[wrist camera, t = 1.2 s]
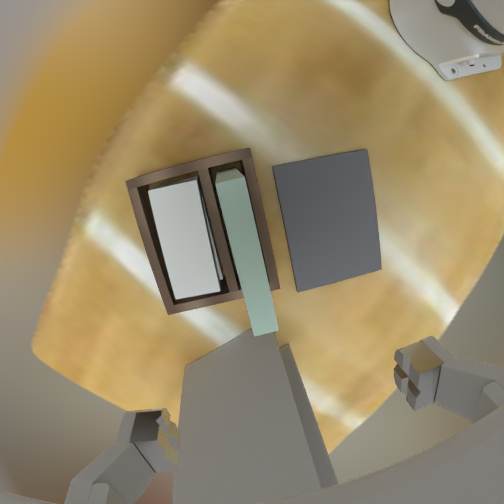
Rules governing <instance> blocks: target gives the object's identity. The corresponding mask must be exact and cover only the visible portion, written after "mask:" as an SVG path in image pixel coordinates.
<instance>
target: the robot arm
mask: <svg viewBox="0 0 504 504" xmlns="http://www.w3.org/2000/svg"><path fill="white" fill-rule="evenodd" d="M390 11H391V15H392V18H393V21H394V23H395V25H396V28H397V29H398V31H399V33H400V34H401V36H402V37H403V39H404V40H405V41H406V42H407V44H408V45H409V46H410V47H411V48H412V49H413V50H414V51H415V52H416V53H417V54H419V55H420V56H421V57H423V58H424V59H425V60H427V61H428V62H429V63H431V64H432V65H433V67H434V68H435V69H436V71H437V72H438V73H439V75H440V76H441V77H442V78H443V79H444V80H446V81H449V80H453V79H457V78H462V77H466V76H470V75H475V74H479V73H484V72H489V71H493V70H497V69H500V68H501V55H504V0H390ZM451 70H452V71H453V73H452V71H451ZM394 359H395V361H396V362H397V365H396V366H395V368H394V379H395V383H396V385H397V387H398V389H399V390H400V391H401V392H403V393H405V394H407V396H406V400H407V402H408V403H409V404H410V406H411V407H412V409H413V410H414V411H416V410H418V409H420V408H423V407H425V406H427V405H429V404H432V403H434V402H435V404H437V405H439V406H441V407H443V408H445V409H447V410H449V411H452V412H454V413H456V414H458V415H461V416H463V417H465V418H467V419H470V420H472V423H471V425H470V426H469V427H467V428H466V429H464V430H462V431H460V432H458V433H456V434H454V435H453V436H451V437H449V438H447V439H446V440H443V441H441V442H439V443H437V444H435V445H433V446H431V447H430V448H427V449H425V450H423V451H421V452H419V453H417V454H415V455H413V456H410V457H408V458H406V459H404V460H401V461H399V462H397V463H394V464H392V465H389V466H387V467H384V468H382V469H379V470H377V471H374V472H372V473H368V474H366V475H363V476H360V477H357V478H354V479H351V480H349V481H345V482H342V483H339V484H336V485H332V486H329V487H325V488H322V489H318V490H315V491H311V492H307V493H303V494H299V495H294V496H290V497H286V498H281V499H276V500H271V501H266V502H260V503H254V504H504V367H502V366H497V365H493V364H488V363H484V362H480V361H476V360H471V359H468V358H463V357H457V358H456V357H454V355H453V354H452V353H451V352H450V351H449V350H447V349H446V348H445V347H444V346H443V345H442V344H441V343H440V342H439V341H438V340H437V339H436V338H435V337H433V336H429V337H427V338H425V339H422V340H420V341H418V342H416V343H413V344H411V345H408V346H406V347H403V348H400V349H398V350H396V352H395V358H394ZM179 448H180V436H179V432H178V429H177V427H176V425H175V423H173V422H171V421H170V414H169V412H168V411H167V409H166V408H157V409H147V410H138V411H126V412H125V413H124V415H123V418H122V421H121V425H120V428H119V432H118V435H117V439H116V443H115V444H111V445H110V446H109V447H108V448H107V449H106V450H104V451H103V452H102V453H101V454H100V455H99V456H98V457H97V458H96V459H95V460H94V461H92V462H91V463H90V464H89V465H88V466H87V467H86V468H84V469H83V470H82V471H81V472H80V473H79V474H78V475H77V476H76V477H74V478H73V479H72V481H71V484H70V487H69V490H68V493H67V496H66V500H65V503H64V504H135V502H136V501H137V500H138V498H139V497H140V496H141V494H142V493H143V492H144V490H145V489H146V487H147V486H148V485H149V483H150V482H151V481H152V479H153V478H154V477H155V475H156V473H163V472H174V471H178V466H179V456H178V454H177V453H176V451H177V450H178V449H179ZM0 504H57V503H51V502H46V501H40V500H36V499H32V498H27V497H23V496H19V495H15V494H11V493H8V492H5V491H1V490H0Z"/></svg>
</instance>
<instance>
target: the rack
mask: <svg viewBox="0 0 504 504" xmlns="http://www.w3.org/2000/svg"><path fill="white" fill-rule="evenodd" d="M239 160H240V165H241V169H242V173H243V176H244V177H245V180H246V185H247V189H248V193H249V198H250V202H251V207H252V211H253V215H254V220H255V224H256V229H257V233H258V238H259V242H260V246H261V251H262V255H263V260H264V264H265V269H266V273H267V278H268V282H269V287H270V291H273V290H277V289H280V285H279V280H278V275H277V270H276V266H275V261H274V256H273V251H272V247H271V242H270V237H269V233H268V228H267V223H266V219H265V214H264V209H263V205H262V200H261V196H260V191H259V187H258V182H257V178H256V173H255V169H254V164H253V160H252V156H251V151H250V148H246V149H241V150H237V151H232V152H228V153H224V154H220V155H216V156H212V157H208V158H204V159H200V160H196V161H192V162H188V163H184V164H181V165H177V166H173V167H170V168H166V169H163V170H159V171H156V172H152V173H149V174H146V175H142V176H139V177H136V178H133V179H130V180H127V181H126V185H127V188H128V192H129V196H130V199H131V203H132V206H133V210H134V213H135V217H136V220H137V224H138V227H139V230H140V234H141V237H142V240H143V243H144V246H145V249H146V253H147V256H148V259H149V262H150V265H151V268H152V271H153V274H154V277H155V280H156V282H157V285H158V288H159V291H160V294H161V297H162V299H163V302H164V305H165V308H166V310H167V313H168V315H170V314H174V313H179V312H183V311H188V310H192V309H197V308H201V307H206V306H210V305H214V304H219V303H223V302H227V301H232V300H236V299H240V298H244V296H243V292H242V288H241V284H240V281H239V277H238V273H237V274H236V271H235V267H234V263H233V259H232V255H231V251H230V247H229V243H228V240H227V236H226V232H225V228H224V224H223V220H222V216H221V212H220V208H219V204H218V200H217V196H216V191H215V187H214V183H213V179H212V175H211V171H210V167H214V166H218V165H222V164H226V163H230V162H234V161H239ZM194 171H198V173H199V177H200V181H201V185H202V189H203V193H204V197H205V201H206V205H207V209H208V213H209V217H210V221H211V224H212V228H213V232H214V236H215V240H216V243H217V247H218V251H219V255H220V258H221V262H222V266H223V270H224V273H225V277H223V279H222V280H220V291H219V292H214V293H208V294H203V295H198V296H192V297H187V298H182V299H175V296H174V292H173V289H172V285H171V282H170V278H169V274H168V271H167V267H166V263H165V259H164V256H163V252H162V248H161V244H160V240H159V236H158V232H157V228H156V224H155V220H154V215H153V211H152V207H151V202H150V198H149V194H148V191H149V187H148V184H151V183H154V182H157V181H161V180H164V179H168V178H172V177H175V176H179V175H183V174H186V173H190V172H194Z"/></svg>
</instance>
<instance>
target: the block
mask: <svg viewBox="0 0 504 504" xmlns="http://www.w3.org/2000/svg"><path fill="white" fill-rule="evenodd" d="M215 185H216V189H217V193H218V197H219V201H220V205H221V209H222V213H223V217H224V221H225V225H226V229H227V233H228V237H229V241H230V245H231V249H232V253H233V257H234V261H235V265H236V269H237V273H238V277H239V281H240V284H241V288H242V292H243V296H244V300H245V304H246V307H247V311H248V315H249V319H250V323H251V326H252V330H253V334H254V337H255V336H259V335H263V334H267V333H271V332H275V331H279V328H278V323H277V319H276V314H275V309H274V305H273V300H272V296H271V291H270V287H269V282H268V278H267V273H266V269H265V264H264V260H263V255H262V251H261V246H260V242H259V238H258V233H257V229H256V224H255V220H254V215H253V211H252V207H251V202H250V198H249V193H248V189H247V185H246V180H245V177H244V176H243V175H242V174H241V173H240V172H239V171H238V170H237V169H236V168H235V167H230V168H226V169H222V170H218V171H217V175H216V182H215Z"/></svg>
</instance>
